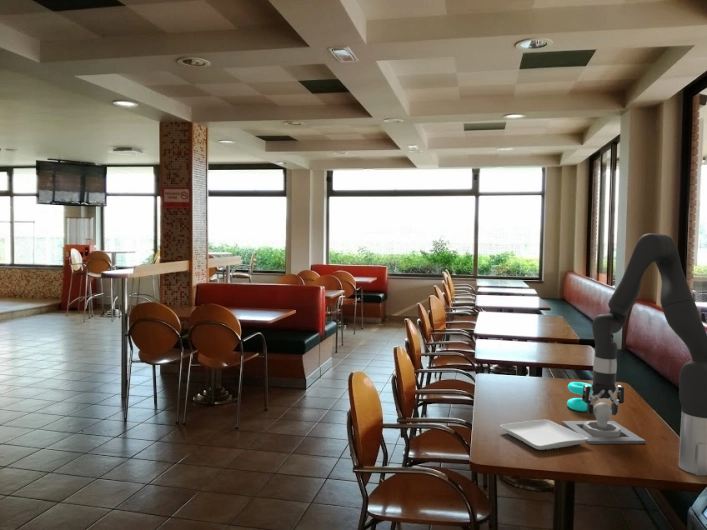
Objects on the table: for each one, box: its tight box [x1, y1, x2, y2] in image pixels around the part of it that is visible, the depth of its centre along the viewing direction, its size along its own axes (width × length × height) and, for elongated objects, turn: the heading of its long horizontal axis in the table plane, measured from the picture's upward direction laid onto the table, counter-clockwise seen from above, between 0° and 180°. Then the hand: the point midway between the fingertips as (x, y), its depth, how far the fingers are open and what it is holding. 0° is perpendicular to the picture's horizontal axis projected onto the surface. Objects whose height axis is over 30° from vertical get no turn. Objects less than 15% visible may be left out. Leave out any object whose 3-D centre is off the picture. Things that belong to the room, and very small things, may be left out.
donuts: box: [566, 381, 593, 412], centre depth 227 cm, size 10×10×10 cm
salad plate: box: [499, 418, 588, 451], centre depth 192 cm, size 21×21×3 cm
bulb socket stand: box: [561, 420, 646, 445], centre depth 199 cm, size 20×20×2 cm
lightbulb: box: [593, 401, 612, 431], centre depth 199 cm, size 6×6×11 cm
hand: (602, 414), depth 199 cm, fingers open, 8 cm apart
